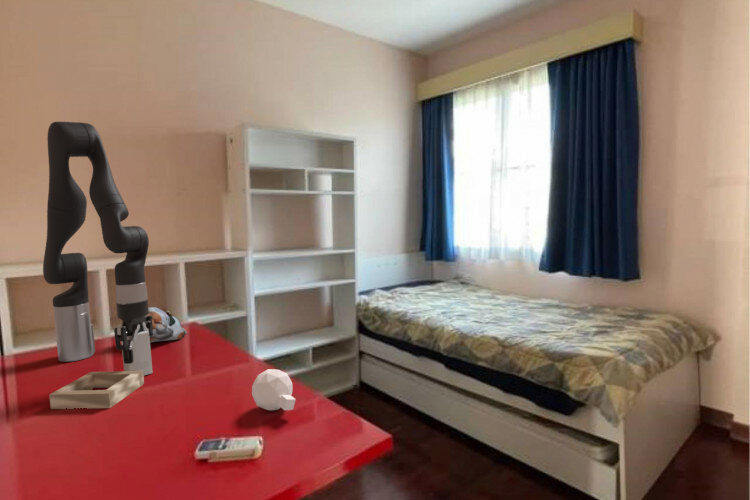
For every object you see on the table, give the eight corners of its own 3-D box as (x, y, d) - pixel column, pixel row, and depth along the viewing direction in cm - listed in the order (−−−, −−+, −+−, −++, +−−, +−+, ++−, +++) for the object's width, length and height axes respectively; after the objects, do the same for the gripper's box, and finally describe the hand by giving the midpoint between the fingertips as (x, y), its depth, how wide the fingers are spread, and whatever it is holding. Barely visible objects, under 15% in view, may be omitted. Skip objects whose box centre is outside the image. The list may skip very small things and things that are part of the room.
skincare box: (146, 370, 123) (143, 329, 122) (153, 373, 120) (150, 331, 119) (123, 377, 118) (119, 334, 117) (129, 380, 115) (126, 336, 114)
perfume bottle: (239, 401, 96) (266, 425, 87) (251, 361, 96) (279, 382, 88) (272, 400, 102) (300, 423, 93) (283, 363, 102) (312, 382, 94)
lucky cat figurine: (194, 336, 155) (182, 304, 146) (160, 360, 146) (144, 327, 138) (168, 318, 164) (155, 287, 155) (134, 340, 155) (118, 307, 146)
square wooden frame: (91, 384, 113) (90, 372, 113) (144, 383, 113) (143, 370, 112) (50, 409, 99) (49, 394, 99) (110, 408, 99) (108, 393, 98)
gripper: (133, 294, 124) (138, 350, 126) (101, 305, 110) (107, 368, 111) (159, 294, 124) (163, 349, 125) (130, 304, 110) (135, 367, 111)
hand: (137, 358), depth 118 cm, fingers closed on skincare box, 7 cm apart
